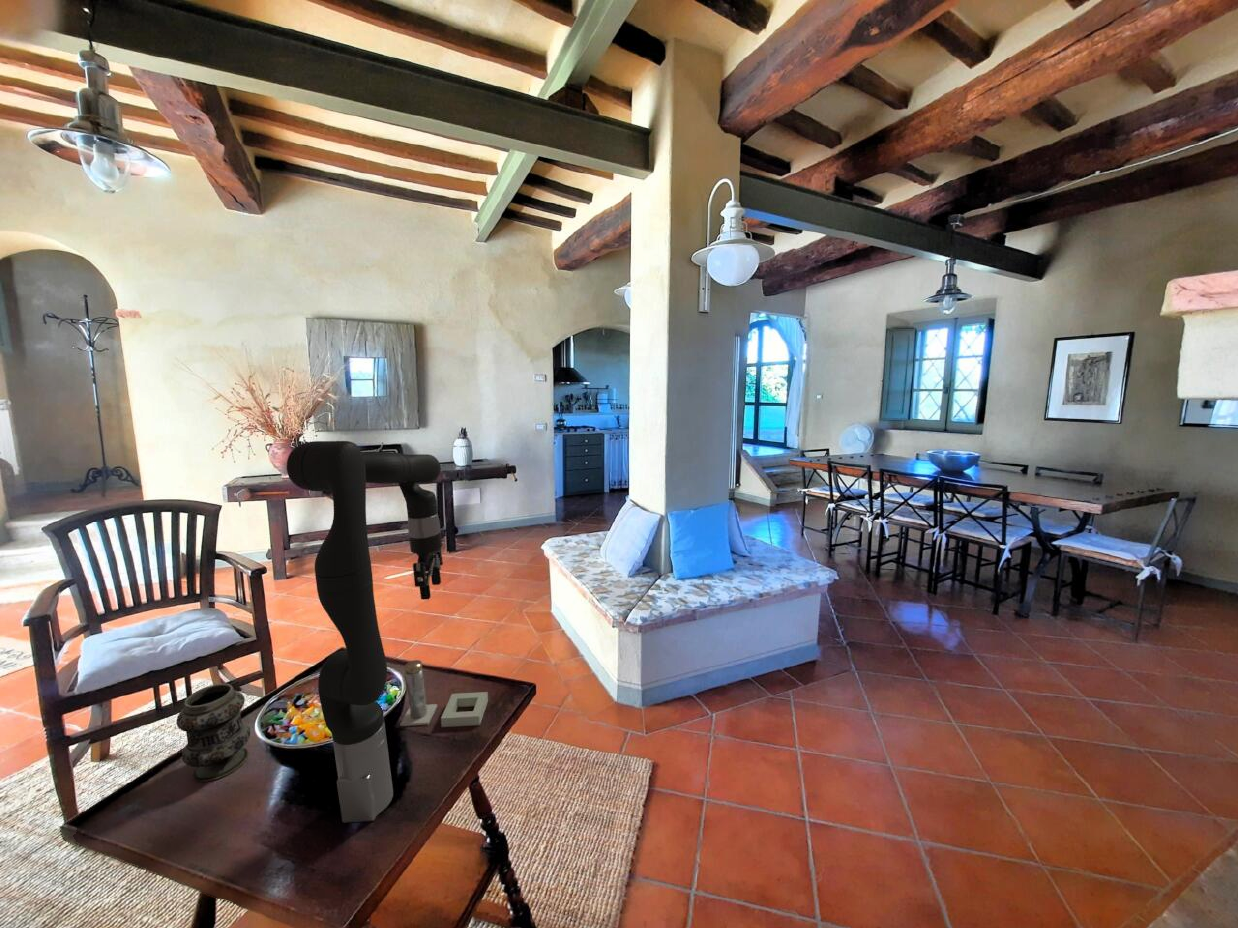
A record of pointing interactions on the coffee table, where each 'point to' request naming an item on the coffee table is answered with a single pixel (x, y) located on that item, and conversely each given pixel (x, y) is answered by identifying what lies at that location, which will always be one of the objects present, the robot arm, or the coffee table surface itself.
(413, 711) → the steel pin
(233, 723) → the apothecary jar
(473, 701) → the collar
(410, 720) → the felt pad
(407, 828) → the coffee table surface
